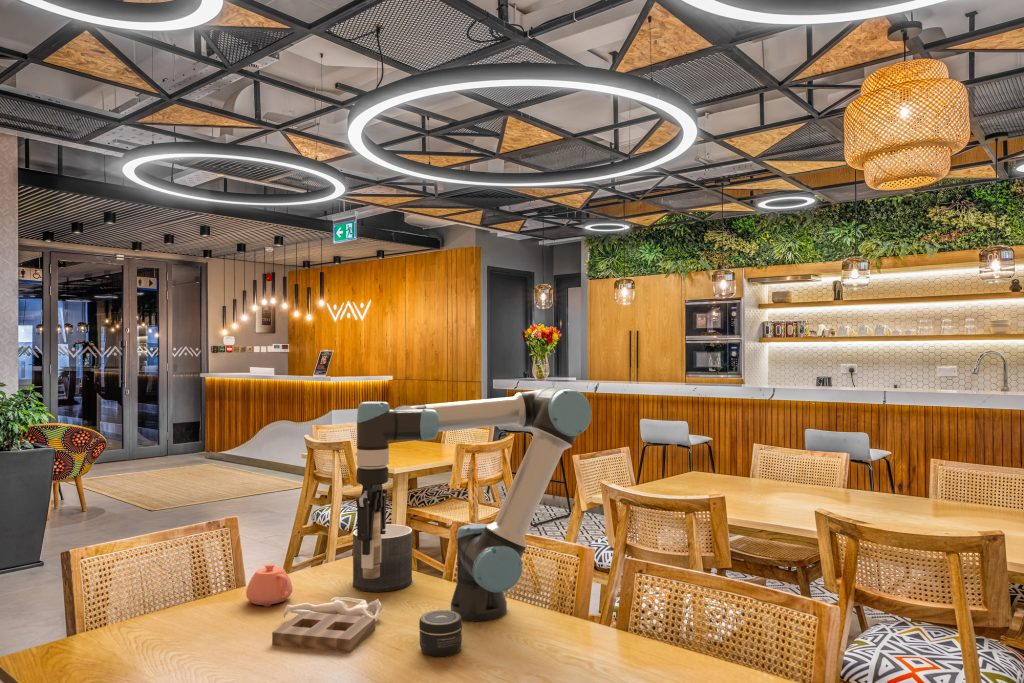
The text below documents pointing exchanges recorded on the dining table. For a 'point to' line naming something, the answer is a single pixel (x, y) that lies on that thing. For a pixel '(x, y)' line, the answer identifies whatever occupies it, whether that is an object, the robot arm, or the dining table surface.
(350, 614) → the figurine
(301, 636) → the board
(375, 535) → the leg
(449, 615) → the jar
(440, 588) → the dining table surface
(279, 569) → the sugar bowl
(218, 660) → the dining table surface
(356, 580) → the planter
